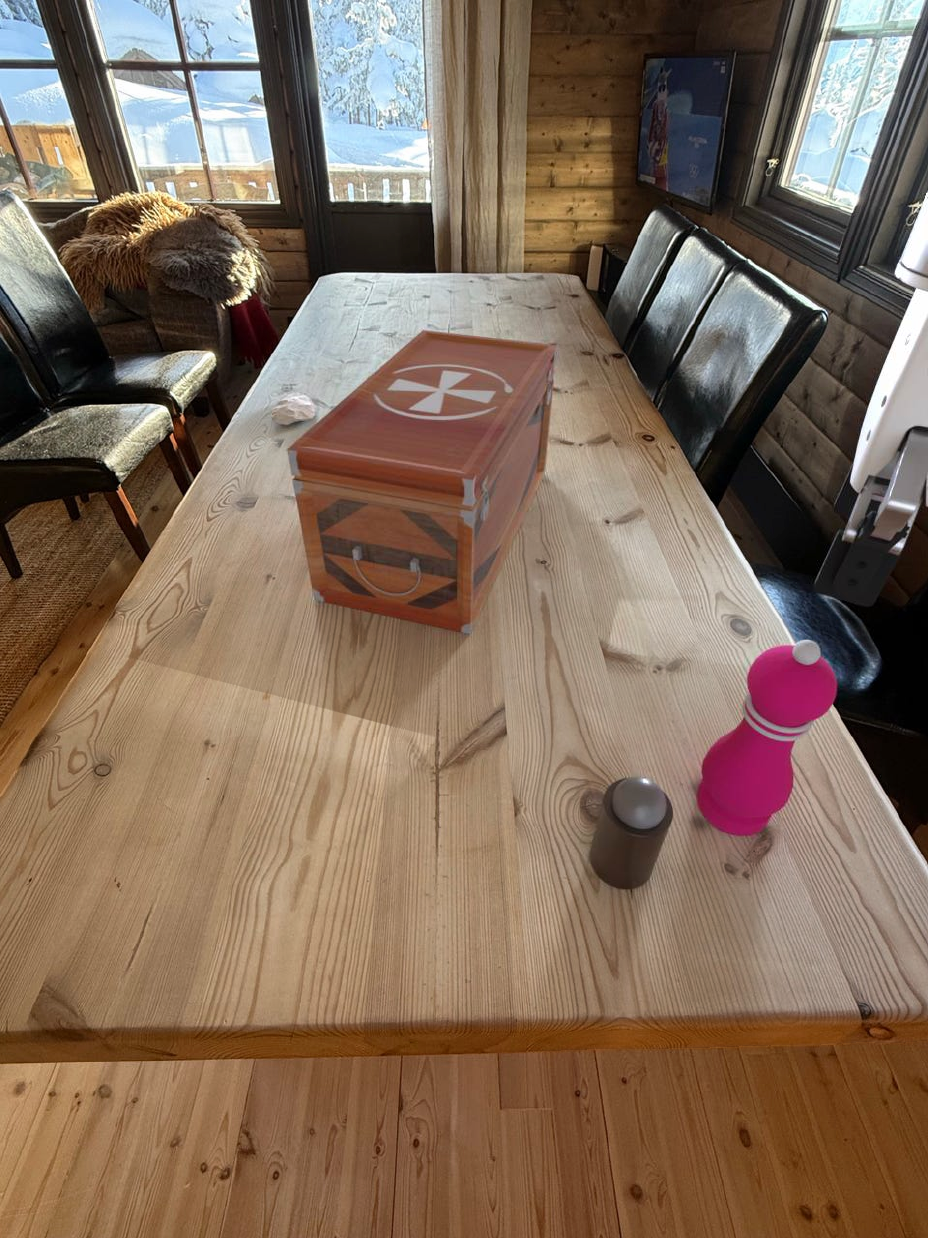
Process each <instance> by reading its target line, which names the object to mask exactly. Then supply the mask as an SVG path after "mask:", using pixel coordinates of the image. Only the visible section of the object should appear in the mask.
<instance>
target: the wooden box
mask: <svg viewBox="0 0 928 1238" xmlns="http://www.w3.org/2000/svg"><path fill="white" fill-rule="evenodd" d="M557 353H558V344H550V343H540V342H533V341H532V342H530V341H524V340H523V341H522V340H515V339H506V338H505V339H504V338H497V337H487V336H480V335H469V334H461V333H453V332H444V331H434V330H425V329H422V330H421V331H419V333H418V334H416V336H415V337H413V338H412V339H411V340H410V341H409V342H407V343H406V344H405V345H404V346H403V347H402V348H401V349H399V351H398V352H396V353H395V354H394V355H393V356H391V357H390V359H388V360H387V361H386V362H385V363H383V365H381V366H380V367H379V368H378V369H377V370H376V371H374V372H373V373H372V374H371V375H370V376H369V377H368V378H366V379H365V380H364V381H363V382H362V383H361V384H360V385H358V386H357V387H356V388H355V389H354V390H353V391H352V392H351V393H349V394H348V395H347V396H346V397H345V398H343V399H342V400H341V401H340V402H339V403H338V404H336V406H335V407H334V408H332V409H331V410H330V411H329V412H327V414H325V415H324V416H323V417H322V418H321V419H319V420H318V422H316V423H315V424H314V425H313V426H312V427H310V428H309V429H308V430H307V431H306V432H305V433H303V434H302V435H301V436H300V437H299V438H297V439H296V441H294V443H291V445H289V447H288V448H287V449H286V451H287V458H288V464H289V467H290V468H289V469H290V474H291V476H294V477H293V478H292V479H291V480H292V486H293V492H294V497H295V501H296V507H297V511H298V516H299V523H300V528H301V529H300V530H301V535H302V539H303V546H304V550H305V556H306V561H307V568H308V572H309V578H310V585H311V589H312V595H313V600H314V601H318V602H322V603H324V604H325V603H326V604H330V605H336V606H339V607H344V608H349V609H353V610H357V611H362V612H366V613H372V614H376V615H380V616H385V617H388V618H389V617H390V618H394V619H399V620H403V621H408V622H411V623H416V624H421V625H426V626H429V627H430V626H431V627H435V628H439V629H444V630H448V631H452V632H453V631H454V632H458V633H461V634H467V635H471V634H472V631H473V629H474V627H475V625H476V623H477V620H478V619H479V617H480V614H481V612H482V610H483V608H484V606H485V603H486V601H487V599H488V597H489V594H490V593H491V591H492V589H493V586H494V585H495V582H496V580H497V579H498V575H499V574H500V572H501V569H502V567H503V565H504V563H505V560H506V559H507V556H508V554H509V552H510V550H511V547H512V546H513V543H514V541H515V539H516V537H517V534H518V532H519V531H520V528H521V526H522V524H523V523H524V520H525V518H526V515H527V514H528V512H529V509H530V507H531V505H532V502H533V500H534V498H535V496H536V494H537V492H538V489H539V488H540V485H541V484H542V481H543V479H544V477H545V475H546V468H547V467H546V466H547V457H548V448H549V447H548V445H549V438H550V437H549V435H550V425H551V416H552V415H551V414H552V403H553V395H554V386H555V376H556V369H555V368H556V365H557V364H556V363H557Z"/></svg>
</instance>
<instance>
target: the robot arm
mask: <svg viewBox="0 0 928 1238" xmlns="http://www.w3.org/2000/svg"><path fill="white" fill-rule="evenodd" d="M894 276H895V277H896V278H897V279H898V280H900V281H901V282H902V283H904V284H905V285H907V286H910V287H913V288H915V291H914V293H913V295H912V297H911V298H910V299H911V300H910V302H909V304H908V307H907V309H906V311H905V314H904V316H903V318H902V320H901V322H900V324H899V327H898V330H897V332H896V334H895V337H894V340H893V341H892V345H891V347H890V349H889V352H888V354H887V357H886V358H885V362H884V363H883V367H882V369H881V372H880V374H879V377H878V379H877V381H876V383H875V384H876V385H875V387H874V390H873V393H872V395H871V398H870V402H869V404H868V407H867V410H866V413H865V417H864V421H863V423H862V427H861V429H860V430H861V431H860V435H859V439H858V441H857V446H856V451H855V455H854V460H853V462H852V464H851V466H850V468H849V470H848V473H847V475H846V477H845V480H844V482H843V484H842V487H841V489H840V491H839V493H838V495H837V498H836V500H835V502H834V505H833V513H834V514H836V515H839V516H843V517H846V518H848V522H847V524H846V527H845V530H842V529H838V531H837V533H836V535H835V537H834V539H833V542H832V543H831V546H830V548H829V550H828V552H827V555H826V557H825V559H824V561H823V563H822V566H821V567H820V569H819V571H818V574H817V576H816V578H815V580H814V583H813V590H814V592H816V593H818V594H821V595H825V596H828V597H831V598H834V599H838V600H841V601H845V602H848V603H851V604H854V605H858V606H861V607H868V608H869V607H871V606H873V605H874V604H875V603H876V601H877V599H878V597H879V595H880V594H881V592H882V590H883V588H884V587H885V584H886V582H887V581H888V579H889V577H890V575H891V574H892V572H893V570H894V568H895V567H896V565H897V563H898V561H899V560H900V557H901V556H902V554H903V552H904V547H905V545H906V542H907V540H908V537H909V535H910V532H911V530H912V527H913V524H914V522H915V520H916V517H917V515H918V512H919V510H920V507H921V505H922V502H923V500H924V497H925V507H928V191H927V192H926V195H925V198H924V200H923V202H922V204H921V207H920V210H919V212H918V214H917V217H916V219H915V222H914V224H913V227H912V229H911V231H910V234H909V236H908V239H907V242H906V244H905V247H904V249H903V252H902V254H901V256H900V259H899V261H898V263H897V264H896V268H895V271H894Z"/></svg>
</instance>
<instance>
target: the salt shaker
mask: <svg viewBox="0 0 928 1238" xmlns="http://www.w3.org/2000/svg"><path fill="white" fill-rule="evenodd" d="M673 818H674V808H673V805H672V802H671V800H670V798H669V797H668V795H667V794H666V793H665V791H664V790H663V789H662V788H661V787H660V785H658V783H657V782H655V781H654V780H652V779H650V778H648V777H645V776H639V775H635V776H629V777H623V778H620V779H617V780H615V781H614V782H612V783H611V784H610V785H609V786H608V787H607V788H606V790H605V791H604V795H603V799H602V802H601V806H600V810H599V814H598V818H597V821H596V825H595V830H594V834H593V836H592V841H591V845H590V849H589V862H590V865H591V868H592V870H593V872H594V873H595V874H596V876H597V877H598V878H599V879H600V880H601V881H602V882H604V883H605V884H606V885H608V886H610V887H613V888H615V889H619V890H625V891H628V890H635V889H637V888H640V887H642V886H644V884H646V883H647V882H648V881H649V880H650V877H651V876H652V873H653V871H654V868H655V865H656V863H657V861H658V857H659V855H660V853H661V851H662V847H663V845H664V844H665V843H664V842H665V840H666V838H667V835H668V832H669V829H670V828H671V825H672V822H673Z"/></svg>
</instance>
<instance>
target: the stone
mask: <svg viewBox="0 0 928 1238" xmlns="http://www.w3.org/2000/svg"><path fill="white" fill-rule="evenodd" d="M316 413H317V412H316V405H315V404H314V401H313V400H312V399H311V398H310V397H309V396H308V395H306V394H302V393H300V392H292V393H289V394H286V395H285V396H283V397H281V398H280V399H279V400H278V401H277V402H276V404H275V406H272V407H271V412H270V414H271V420H272V422H273V423H274V424H276V425H285V426H288V425H291V424H295V423H298V422H304V421H305V422H306V421H310V420H313V419H314V418H315V417H316Z"/></svg>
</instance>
